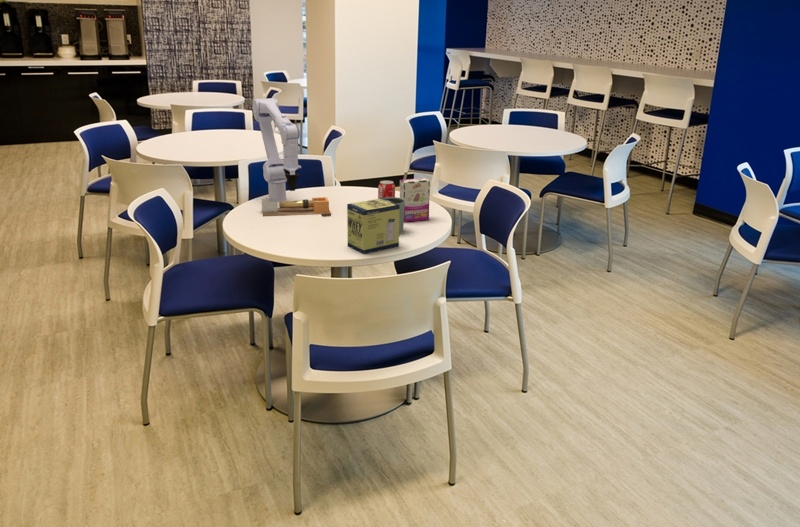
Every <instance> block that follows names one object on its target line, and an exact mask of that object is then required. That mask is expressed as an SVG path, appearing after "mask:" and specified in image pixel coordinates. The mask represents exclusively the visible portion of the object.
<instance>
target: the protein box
mask: <svg viewBox="0 0 800 527" xmlns="http://www.w3.org/2000/svg"><path fill="white" fill-rule="evenodd" d="M346 207H347V208H346V209H347V211H346V212H347V216H346V219H347V224H346V225H347V247H349V248H351V249H353V250H355V251H356V252H359V253H361V254H362V255H367V254H370V252H371V253H375V252H380V251H384V250H388V249H392V248H397V247H399V246H400V234H399V211H400V205H399V204H396V203H394V202H391V201H389V200H386V199H383V198H380V199H378V198H375V199H369V200H363V201H358V202H350V203H347V204H346ZM379 250H380V251H379Z"/></svg>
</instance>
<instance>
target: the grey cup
mask: <svg viewBox="0 0 800 527" xmlns="http://www.w3.org/2000/svg"><path fill="white" fill-rule="evenodd" d="M383 199H386V200H389V201H391V202H394V203H396V204H399V205H400V211H399V233H400V234H402V233H403V232H404V224H405V223H404V208H405V200H404V199H402V198H400V197H396V196H395V197H386V198H383ZM401 232H402V233H401Z"/></svg>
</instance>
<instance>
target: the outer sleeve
mask: <svg viewBox="0 0 800 527" xmlns="http://www.w3.org/2000/svg"><path fill="white" fill-rule="evenodd" d="M278 208H279V207H278V202H277V199H268V198H262V199H261V211H262V213H261V214H262V215H263V214H272V213H278Z"/></svg>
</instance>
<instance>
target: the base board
mask: <svg viewBox="0 0 800 527" xmlns="http://www.w3.org/2000/svg"><path fill="white" fill-rule="evenodd" d="M277 208H278V213H272V214H262V217H284V216H286V217H287V216H309V215H311V216H313V215H314V216H315V215H321V217H322V216H323V217H332V213H331V211H330V209H329V212H316V213H314V211H313V207H309V208H305V209H303V208H280V207H277Z"/></svg>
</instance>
